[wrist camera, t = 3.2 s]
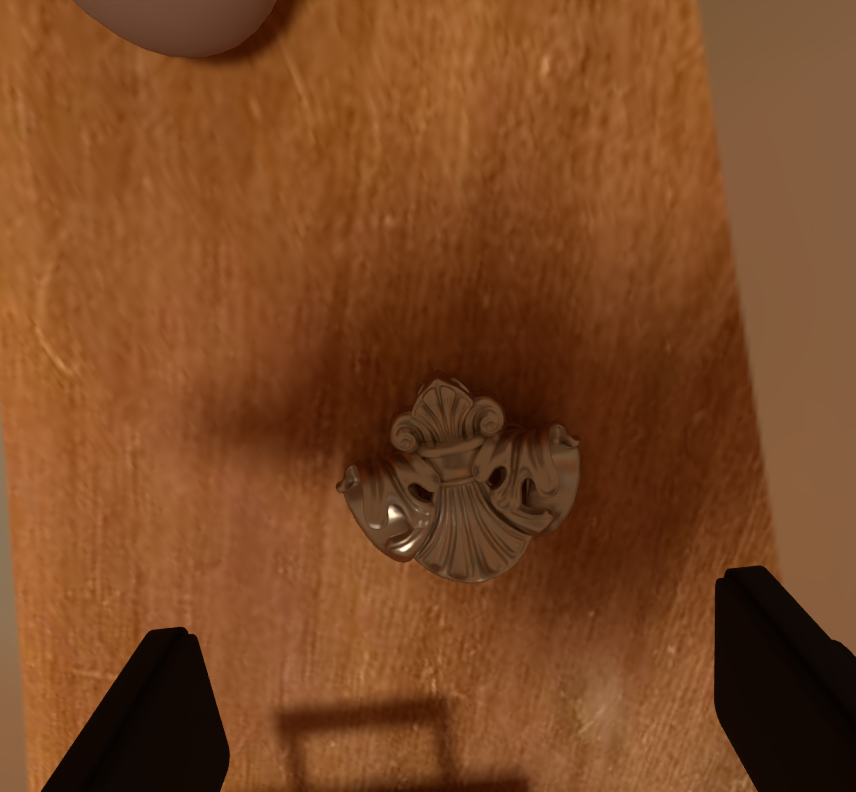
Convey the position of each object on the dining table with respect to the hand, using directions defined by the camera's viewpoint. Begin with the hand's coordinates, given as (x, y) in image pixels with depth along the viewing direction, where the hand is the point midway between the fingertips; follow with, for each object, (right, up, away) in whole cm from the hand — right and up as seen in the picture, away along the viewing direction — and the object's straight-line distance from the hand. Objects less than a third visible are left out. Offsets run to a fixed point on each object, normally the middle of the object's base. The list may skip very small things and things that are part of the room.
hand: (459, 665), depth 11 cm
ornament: (0, +3, +10) cm, 11 cm away
